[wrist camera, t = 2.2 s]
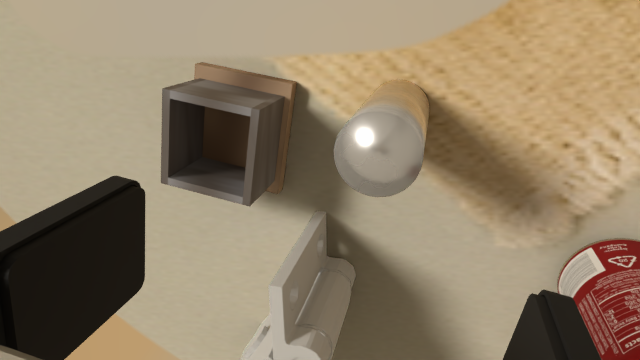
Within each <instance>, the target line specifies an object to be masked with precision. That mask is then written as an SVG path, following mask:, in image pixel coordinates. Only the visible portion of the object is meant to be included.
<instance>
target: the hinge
mask: <svg viewBox="0 0 640 360" xmlns="http://www.w3.org/2000/svg"><path fill="white" fill-rule="evenodd" d="M355 279H356V274H355V270H354V267H353V266H352V265H351V264H350V263H349V262H348V261H346V260H345V259H342V258H333V257H329V256H327V236H326V212H322V211H316V212H315V213H314V215H313V216H312V218H311V220H310V221H309V223H308V224H307V226H306V227H305V229H304V231H303V232H302V234H301V235H300V237H299V238H298V240H297V242H296V243H295V245H294V246H293V248H292V249H291V251H290V253H289V254H288V256H287V257H286V259H285V261H284V262H283V264H282V265H281V267H280V268H279V270H278V272H277V273H276V275H275V276H274V278H273V279H272V281H271V283H270V284H269V301H270V314H269V315H268V316H267V317H266V318H265V319H264V321H263V322H262V323H261V324H260V326H259V328H258V330H257V331H256V333H255V335H254V336H253V338H252V339H251V340H250V342H249V343H248V345H247V346H246V348H245V349H244V351H243V353H242V357H241V359H240V360H332V357H333V353H334V350H335V347H336V344H337V341H338V338H339V335H340V331H341V328H342V325H343V322H344V319H345V316H346V313H347V310H348V306H349V303H350V297H351V291H352V286H353V283H354V280H355Z"/></svg>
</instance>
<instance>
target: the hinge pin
mask: <svg viewBox="0 0 640 360" xmlns="http://www.w3.org/2000/svg"><path fill="white" fill-rule="evenodd" d="M428 119H429V102H428V99H427V97H426V95H425V93H424V92H423V90H422V89H421V88H420V87H418V86H417V85H416V84H414V83H412V82H410V81H407V80H401V79H396V80H391V81H387V82H385V83H383V84H381V85H380V86H379V87H378V88H377V89H376V90H375V91H374V92H373V93H372V94H371V95H370V96H369V98H368V99H367V100H366V101H365V102H364V103H363V104H362V106H361V107H360V108H359V109H358V110H357V111H356V113H355V114H354V115H353V116H352V117H351V118H350V119H349V121H348V122H347V123H346V124H345V125H344V126H343V128H342V129H341V130H340V132H339V134H338V136H337V138H336V141H335V145H334V161H335V165H336V168H337V170H338V172H339V174H340V176H341V177H342V178H343V180H344V181H345V182H346V183H347V184H348V185H349V186H350V187H352V188H353V189H354V190H356V191H358V192H360V193H362V194H365V195H368V196H373V197H386V196H391V195H395V194H397V193H399V192H402V191H403V190H405V189H406V188H407V187H409V186H410V185H411V184H412V183H413V182H414V180H415V179H416V178H417V176H418V174H419V172H420V170H421V167H422V162H423V155H424V148H425V141H426V133H427V126H428Z"/></svg>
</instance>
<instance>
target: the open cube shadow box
mask: <svg viewBox="0 0 640 360" xmlns="http://www.w3.org/2000/svg"><path fill="white" fill-rule="evenodd" d="M296 85H297V82H295V81H290V80H285V79H280V78H275V77H271V76H266V75H261V74H256V73H251V72H246V71H242V70H237V69H232V68H227V67H222V66H217V65H213V64H208V63H203V62H202V63H197V64H195V77H194V80H191V81H188V82H184V83H181V84H177V85H173V86H170V87H166V88H162V147H161V183H163V184H167V185H170V186H174V187H178V188H182V189H186V190H189V191H193V192H197V193H201V194H205V195H208V196H212V197H216V198H220V199H224V200H227V201H231V202H235V203H239V204H243V205H246V206H250V205H251V204H252V203H253V202H254V201H255V200H256V199H257V198H258V197H259V196H260V195H261V194H262V193H263V192H264V191H268V192H272V193H276V194H279V193H280V191H281V190H282V189H283V182H284V175H285V167H286V160H287V152H288V145H289V137H290V130H291V122H292V115H293V107H294V100H295V92H296Z"/></svg>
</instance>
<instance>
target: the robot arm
mask: <svg viewBox="0 0 640 360" xmlns="http://www.w3.org/2000/svg"><path fill="white" fill-rule="evenodd" d="M144 278H145V192H144V190H143V189H142V188H141V186H140V184H139V183H138V182H137V181H134V180H131V179H127V178H123V177H119V176H112V177H110V178H108V179H106V180H104V181H102V182H100V183H98V184H96V185H94V186H92V187H90V188H88V189H86V190H84V191H82V192H80V193H78V194H76V195H73V196H71V197H69V198H67V199H65V200H63V201H61V202H59V203H57V204H55V205H53V206H51V207H49V208H47V209H45V210H43V211H41V212H39V213H37V214H35V215H33V216H31V217H29V218H27V219H25V220H23V221H21V222H19V223H17V224H15V225H13V226H11V227H9V228H7V229H5V230H3V231H1V232H0V360H64V359H65V358H66V357H67V356H69V355H70V354H71V352H73V351H74V350H75V349H76V348H77V347H78V346H79V345H81V344H82V343H83V342H84V341H85V340H86V339H87V338H88V337H89V336H90V335H92V334H93V333H94V332H95V331H96V330H97V329H98V328H99V327H100V326H101V325H102V324H103V323H105V322H106V321H107V320H108V319H109V318H110V317H111V316H112V315H113V314H114V313H116V312H117V311H118V310H119V309H120V308H121V307H122V306H123V305H124V304H125V303H126V302H128V301H129V300H130V299H131V298H132V297H133V296H134V295H135V294H136V293H137V292H138V291H139V290H140V289H141V287H142V285H143V282H144ZM503 360H602V359H601V357H600V355H599V353H598V351H597V348H596V346H595V344H594V342H593V340H592V338H591V335H590V333H589V331H588V329H587V327H586V325H585V322H584V320H583V318H582V316H581V314H580V312H579V310H578V307H577V305H576V303H575V301H574V299H573V298H572V297H569V296H566V295H562V294H558V293H554V292H551V291H547V290H542V291H541V292H540V293H539V294H538V295H536V294H531V295H530V296H529V297H528V299H527V302H526V304H525V307H524V309H523V311H522V314H521V316H520V319H519V321H518V324H517V326H516V328H515V331H514V333H513V336H512V338H511V341H510V343H509V345H508V348H507V350H506V353H505V355H504V358H503Z"/></svg>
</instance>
